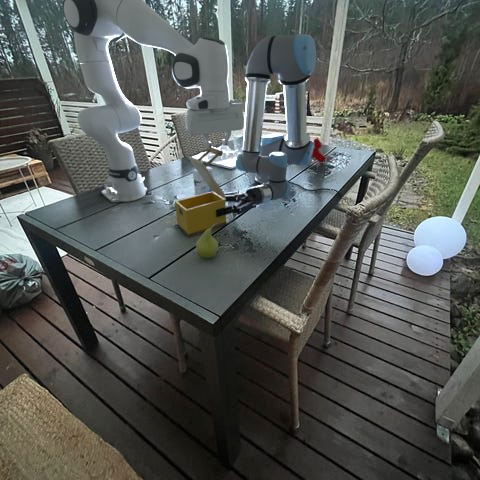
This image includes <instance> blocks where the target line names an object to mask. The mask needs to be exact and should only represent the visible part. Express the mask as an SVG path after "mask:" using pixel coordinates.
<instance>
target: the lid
mask: <svg viewBox="0 0 480 480" xmlns="http://www.w3.org/2000/svg"><path fill="white" fill-rule="evenodd" d="M217 148H218V147H215V146H212V147H211V148H207V150H206V151H204V152H205V153H204V152H203V153H204V154H203V155H202V156H201V157H200V158H199V159H198V160H197V159H195V158H193V157H192V156H191V155H189V156H188V157H187V159H188V160H189V162H190V163H191V164H192V166H193V167H194V169H196V170H197V171H198V172H199V174H200V175H201V177H202V178H203V179H204V181H205V182H206V183H207V185H208V186H209V188H210V189H211V190H212V191H213V192H215V193H216V194H218V195H219V196H221V197H223V198H224V199H225V198H226V196H225V194H224V193H225V192H223V189H222V188H221V186H219V184H218V183H217V181H216V180H215V178H214V176H213V177H212V175H211V174H210V172H209V171H208V169H207V168H206V167H207V166H208V167H209V165H211V164H210V163H211V162H212V161H214V160H215V159H216V158H217V157H218V156H222V155H223V151H222V150H220V149H217ZM209 152H211V153H213V154H215V156H214V157H213V158H212V159H211V160H210V161H208V162H207V163H204V162H201V160H202V159H203V158H204V157H205V156H206V155H207V154H208V153H209Z"/></svg>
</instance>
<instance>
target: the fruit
mask: <svg viewBox="0 0 480 480" xmlns="http://www.w3.org/2000/svg"><path fill="white" fill-rule="evenodd" d="M217 224H218V221H217V222H216V224H214V225H213V226H212V227H211V228H208V229H207V230H206V231H205V232H203V233H202V235H201V236H200V237H199V239H198V240H197V241H196V245H195V249H196V252H197V254H198V255H199V256H200V257H201V258H203V259H212V258H214V257H215V256H216V254H217V253H218V250H219V243H218V240H217V239H215V238H214V237H213V234H212V230H213V229H212V228H213V227H214V226H215V225H217ZM211 229H212V230H211Z"/></svg>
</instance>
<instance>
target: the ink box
mask: <svg viewBox="0 0 480 480" xmlns="http://www.w3.org/2000/svg"><path fill="white" fill-rule="evenodd" d="M206 168H207V169H208V171H209V172H210V174H211V175H212V177H213V178H214V168H213V167H210V166H209V165H208V166H207V167H206ZM192 178H193V185H194V186H193V187H194V194H195V195H200V194H204V193H208V192H211V191H212V190H211V189H210V188H209V186H208V185H207V183H206V182H205V181H204V179H203V178H202V177H201V175H200V174H199V172H198V171H197V170H196V168H194V169H192Z"/></svg>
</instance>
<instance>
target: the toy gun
mask: <svg viewBox="0 0 480 480" xmlns="http://www.w3.org/2000/svg"><path fill="white" fill-rule="evenodd" d="M311 140H312V141H314V143H315V144H314V150H313V154H312V157H311V159H313V158H314V159H315V160H317V161H318V162H319V165H321V164H322V163H320V162H323V161H324V163H325V162H326V159H327V156H326V155H325V154H323V152H321V151H320V149H321V148H322V145H323V143H322V142H321V140H320V139H319V137H318V136H316V137H315V138H313V139H311Z"/></svg>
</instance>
